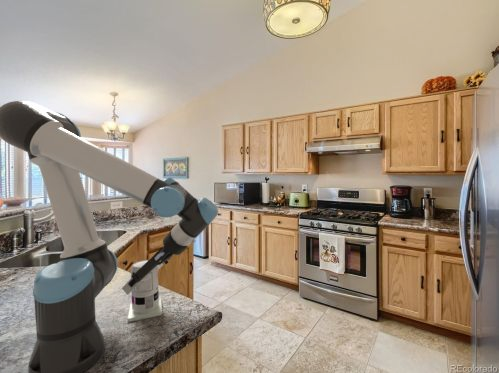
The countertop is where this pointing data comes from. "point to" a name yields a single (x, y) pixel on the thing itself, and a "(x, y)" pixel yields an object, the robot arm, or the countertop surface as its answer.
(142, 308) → the supplement can
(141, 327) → the countertop surface
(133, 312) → the white square coaster
